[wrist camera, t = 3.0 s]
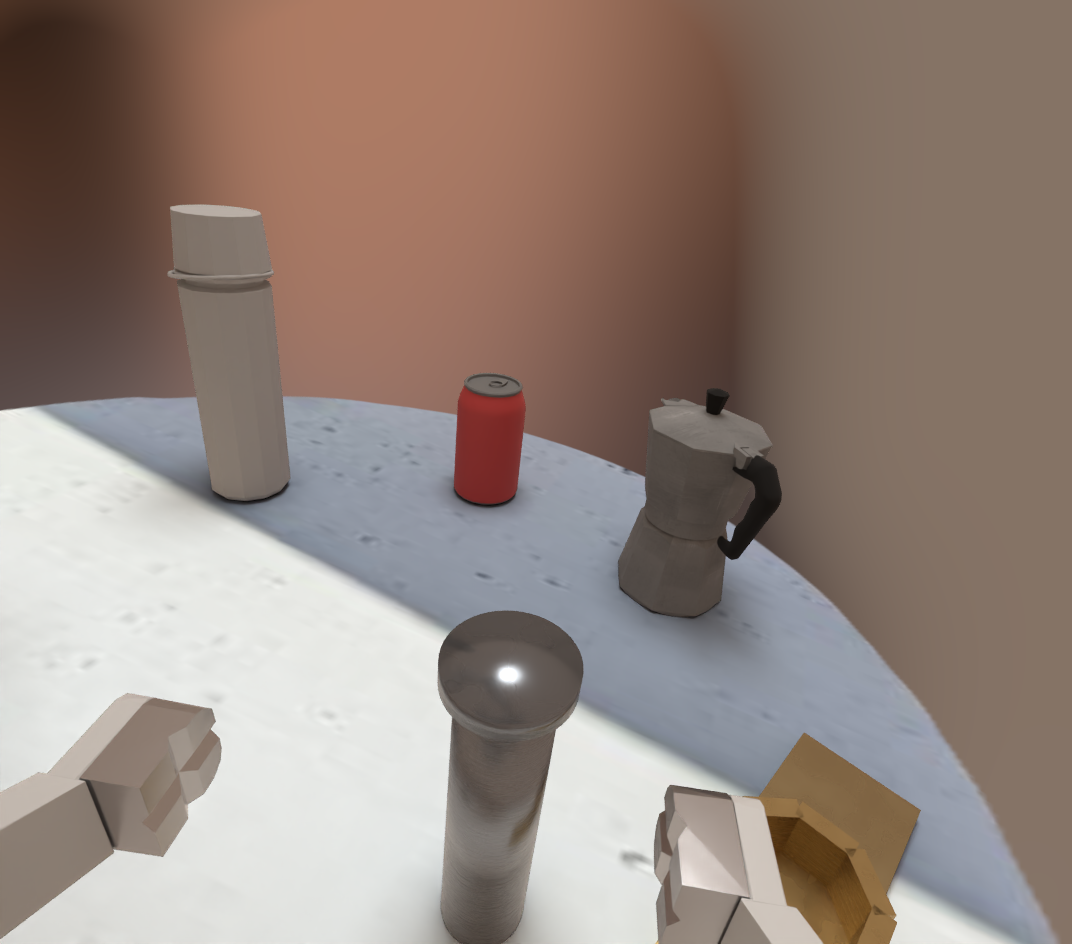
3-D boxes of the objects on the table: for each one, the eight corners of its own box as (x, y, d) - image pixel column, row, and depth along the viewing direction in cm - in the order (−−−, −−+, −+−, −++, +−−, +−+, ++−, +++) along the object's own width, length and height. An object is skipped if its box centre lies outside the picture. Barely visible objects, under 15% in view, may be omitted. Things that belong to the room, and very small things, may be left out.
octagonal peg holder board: (737, 1284, 20) (770, 1254, 18) (562, 1059, 25) (575, 1017, 23) (922, 823, 35) (950, 782, 34) (794, 736, 40) (813, 696, 38)
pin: (477, 994, 26) (509, 750, 19) (406, 897, 29) (408, 653, 22) (557, 903, 30) (612, 666, 22) (486, 825, 33) (513, 593, 25)
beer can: (529, 492, 64) (541, 385, 58) (487, 515, 59) (497, 401, 54) (482, 469, 67) (490, 366, 62) (440, 489, 63) (444, 379, 57)
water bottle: (307, 490, 60) (285, 218, 48) (224, 515, 55) (175, 217, 43) (268, 453, 65) (239, 202, 53) (189, 473, 60) (137, 199, 48)
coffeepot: (589, 543, 57) (623, 359, 48) (677, 535, 60) (723, 360, 51) (667, 666, 44) (732, 445, 36) (774, 648, 47) (857, 440, 39)
